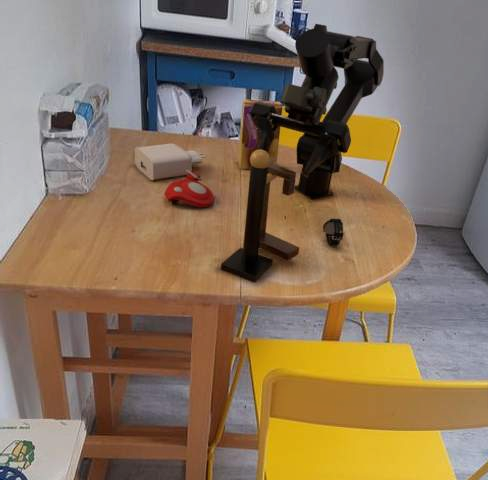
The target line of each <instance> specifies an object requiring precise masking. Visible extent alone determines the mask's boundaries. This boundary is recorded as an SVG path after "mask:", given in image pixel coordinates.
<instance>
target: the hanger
mask: <svg viewBox="0 0 488 480" xmlns="http://www.w3.org/2000/svg"><path fill="white" fill-rule="evenodd" d="M269 173H271V174H274V175H277V176H278V177H280V178H282V179H283V182H282V190H281V191H282V192H281V194H282V195H283V196H287V197H289V196H291V195H293V194H295V186H296V177H297V171H295V170H292V169H289V168H286V167H283V166H280V165H278V164H276V165H275V164H273V163H270V164H269V166H268V174H269ZM270 188H271V181H270V182H269V183H268V184H266V191H265V200H264V209H263V218H262V227H261V235H260V244H259V249H261V250H263V251H264V252H267V253H269V254H271V255H273V256H276V257H277V258H279V259H282V260H284V261H286V262H289V261H290V260H292V259H294V258H295V257H296V256H299V254H300V247H299V246H298V245H295V244H293V243H290V242H288V241H286V240H284V239H282V238H279V237H278V236H275V235H274V234H270V233H269V232H267V221H268V211H269V200H270V190H271V189H270Z"/></svg>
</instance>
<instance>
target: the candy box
mask: <svg viewBox="0 0 488 480" xmlns="http://www.w3.org/2000/svg"><path fill="white" fill-rule="evenodd" d="M256 102H261V103H265V104H269V105H273V106H274V107H275V110H276V112H277V114H278V115H282V114H283V108H284V107H283V103H281V101H275V100H260V99H259V100H258V99H245V98H244V99H242V102H241V111H240V112H241V115H240V127H239V130H240V131H239V142H238V143H239V145H238V156H237V157H238V159H237V163H238V167H239V169H240V170H250V169H251V163H250V157H251V155H252V153H253V152H254V151H256V150H259V138H260V134H259V129H258V128H256V126H255V124H254V122H253V120H252V118H251V116H250V114H249V111H250V109H251V107H252V105H253V104H254V103H256ZM282 116H283V115H282ZM274 134H275V137H274V139H273V141H272V143H271V145H270V147H269V149H268V151H267V153H268V154H269V156H270V163H273V164H275V165H277V162H278V155H279V143H280V136H281V135H280V134H281V127H280V126H278V128H277V130H276V131H274Z"/></svg>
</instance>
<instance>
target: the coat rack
mask: <svg viewBox="0 0 488 480" xmlns="http://www.w3.org/2000/svg"><path fill="white" fill-rule="evenodd" d="M250 163H251V169H249V170H250V171H249V180H248V190H247V191H248V192H247V202H246V211H245V212H246V213H245V224H244V234H243V235H244V236H243V245H242V247H239V248H238V249H237V250H236V251H234V252H233V253H232V254H231V255H230V256H228V257H227V258H226V259H225V260H224V261H223V262H221V264H220V271H223V272H226V273H228V274H230V275H233V276H236V277H239V278H241V279H244V280H247V281H249V282H252V283H256V282H257V281H258V280H259V279H260V278H261V277H262V276H263V275H264V274H265V273H266V272H267V271H268V270H269V269H270V268H271V267H272V266H273V263H274V259H273V258H270V257H268V256H265V255H262V254H260V248H259V244H260V235H261V227H262V218H263V209H264V200H265V191H266V184H268V183H269V182H270V183H271V182H272V181H273V180H275V179H276V178H277V177H279V176H277V175H274V174H271V173H269V174H268V166H269V164H270V156H269V154H268V153H267V152H266V151H264V150H256V151H254V152H253V153H252V155H251V157H250Z"/></svg>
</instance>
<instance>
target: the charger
mask: <svg viewBox="0 0 488 480" xmlns="http://www.w3.org/2000/svg"><path fill="white" fill-rule="evenodd" d="M203 154H204V153H203V152H197V151H196V150H194V149H191V150H185V149H184V148H182V147H180V146H179V145H177V144H175V143H164V144H163V143H162V144H156V145H147V146H139V147H135V148H134V160H135V161H134V163H135V166H136V168H137V170H139V171H140V172H141V173H142V174H143V175H145V176H146V177H147V178H148V179H149V180H151V181H155V180H162V179H167V178H175V177H180V176H187V174H188V172H187V171H186V170H189V171H192V167H193V166H192V165H195V164H201V163H202V162H203V158H207V155H206V154H205V155H203ZM192 172H193V171H192Z"/></svg>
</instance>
